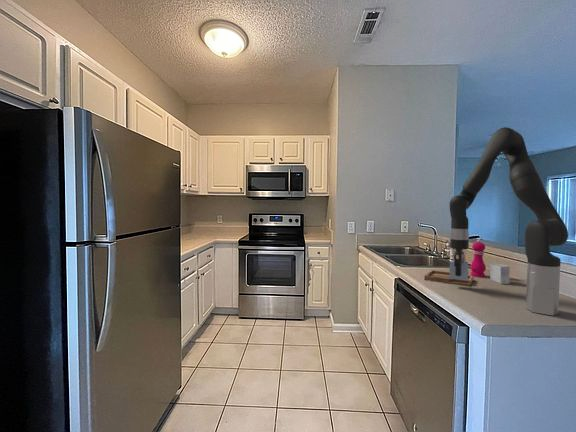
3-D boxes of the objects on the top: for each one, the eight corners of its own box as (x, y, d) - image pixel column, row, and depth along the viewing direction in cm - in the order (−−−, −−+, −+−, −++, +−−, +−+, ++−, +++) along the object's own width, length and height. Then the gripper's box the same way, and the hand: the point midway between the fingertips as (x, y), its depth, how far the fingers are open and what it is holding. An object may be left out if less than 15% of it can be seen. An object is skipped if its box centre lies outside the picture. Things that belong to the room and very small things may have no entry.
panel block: (466, 280, 138) (467, 263, 138) (449, 278, 142) (449, 261, 142) (467, 278, 141) (468, 261, 141) (450, 276, 145) (451, 260, 145)
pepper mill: (470, 273, 169) (471, 238, 168) (485, 275, 165) (487, 239, 164) (469, 276, 164) (470, 239, 163) (485, 278, 159) (486, 240, 158)
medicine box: (509, 284, 148) (510, 266, 148) (500, 284, 148) (501, 266, 148) (498, 280, 156) (499, 263, 155) (489, 280, 156) (490, 263, 156)
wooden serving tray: (469, 286, 143) (469, 281, 143) (424, 279, 155) (424, 275, 155) (473, 279, 156) (473, 275, 156) (431, 274, 168) (431, 270, 168)
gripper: (467, 240, 133) (466, 278, 134) (470, 237, 145) (469, 273, 145) (448, 239, 138) (447, 276, 138) (452, 236, 149) (451, 271, 150)
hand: (458, 274), depth 142 cm, fingers closed on panel block, 4 cm apart
